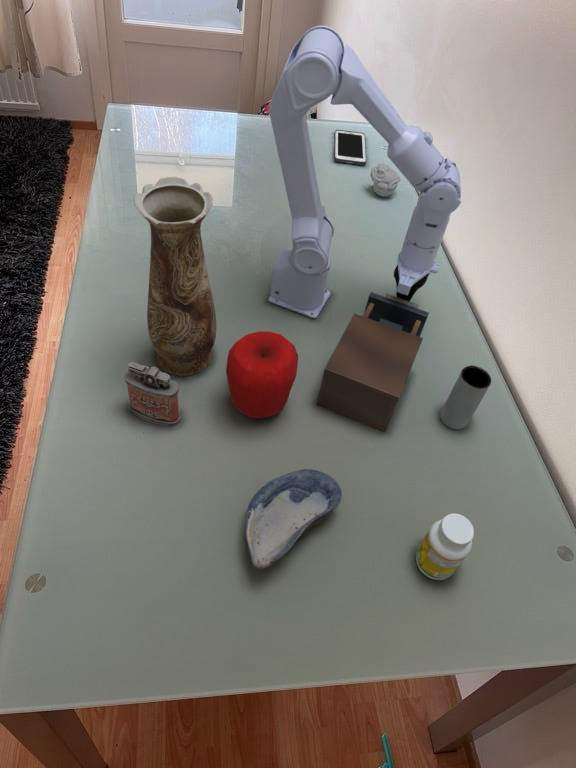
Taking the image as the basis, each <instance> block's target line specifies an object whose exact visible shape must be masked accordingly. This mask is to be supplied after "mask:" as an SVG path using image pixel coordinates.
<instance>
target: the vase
mask: <svg viewBox="0 0 576 768" xmlns="http://www.w3.org/2000/svg"><path fill="white" fill-rule="evenodd" d="M141 191H142V192H137V193H135V194H134V197H133V205H134V207H135V208H136V209H137V211H138V212H139V214H141V216H142V217H143V218H144V219H145V220H146V221H147V222H148V223H149V228H150V253H149V257H150V258H149V277H148V290H147V291H148V292H147V305H146V306H147V307H146V322H147V331H148V335H149V339H150V342H151V345H152V348H153V350H154V351H155V353H156V354H157V355H156V357H157V362H158V365H159V366H160V367H161V368H162V369H163V370H164V371H166V373H169V374H172V375H175V376H181V377H184V376H185V377H186V376H187V377H188V376H191V375H192V376H193V375H196V374H198V373H200V372H202V371H203V370H205V369H206V368H207V367H208V366H209V365H210V363H211V361H212V358H213V352H212V349H213V348H214V345H215V342H216V338H217V314H216V308H215V302H214V298H213V297H214V296H213V292H212V288H211V282H210V278H209V277H210V276H209V273H208V268H207V261H206V257H205V251H204V245H203V240H202V239H203V238H202V233H201V232H202V231H201V230H202V229H201V225H202V222H203V221H204V219H205V218H206V216H207V215H208V214H209V212H210V211H211V208H212V206H213V196H212V194H211V193H210V192H209V191H204V190H203V187H202V185H201V184H200V183H199V182H195V183H192V184H189V182H187V180H186V179H185V178H182V177H179V176H164V177H160V178H159V179H158V180H157V182H156V183H155V184H152V183H145V184H144V186H143V187H142V190H141Z"/></svg>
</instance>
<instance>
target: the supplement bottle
mask: <svg viewBox="0 0 576 768" xmlns="http://www.w3.org/2000/svg"><path fill="white" fill-rule="evenodd" d="M474 536H475V528H474V525H473V524H472V522H471V521H470V520H469V519H468V518H467V517H466V516H464V515H462V514H460V513H449V514H447V515H445V516H444V517H443V518H442V519H438V520H436V521H435V522H434V523H433V524H432V525H431V527H430V528H429V530H428V531H427V533H426V534H425V536H424V538H423V539H422V540H421V542H420V544H419V545H418V547H417V549H416V550H415V551H416V552H415V560H416V561H415V562H416V565H417V567H418V570H419V571H420V572H421V573H422V574H424V576H425V577H427V578H429V579H431V580H436V581H443V580H446V579H448V578H450V577H451V576H452V575H453V574H454V573H455V571H456V570H457V569H458V568H459V566H460V565H461V564H462V563H463V561H464V560H465V559H466V558H467V556H468V555H469V554H470V552H471V550H472V546H473V542H472V541H473V539H474Z"/></svg>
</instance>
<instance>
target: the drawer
mask: <svg viewBox="0 0 576 768" xmlns="http://www.w3.org/2000/svg"><path fill="white" fill-rule="evenodd" d="M429 314H430V312H429V311H426V310H423V309H420V308H419V304H417V303H415V302H413V301H411V300H410V301H407V300H404V299H401V298H398V297H396V295H392V294H390V293H386V294H385V295H381V294H379V293H375V292H372V291H370V293H369V295H368V298H367V301H366V305H365V308H364V312H363V315H362V316H364V317H366V318H369V319H372V320H375V321H377V322H379V321H380V319H381V318H382V319H384V320H387V321H390V322H393V323H395V324H398V325H401V326H403V328H402V331H405V332H407V333H410V334H413V335H415V336H418V337H421V336H422V332H423V331H424V327H425V326H426V323H427V320H428V317H429Z"/></svg>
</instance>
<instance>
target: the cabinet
mask: <svg viewBox="0 0 576 768" xmlns="http://www.w3.org/2000/svg"><path fill="white" fill-rule="evenodd" d="M422 343H423V337H421V336H420V337H418V336H415V335H413V334H410V333H407V332H405V331H402V330H399V329H396V328H394V327H391V326H388V325H385V324H383V323H380V322H377V321H375V320H372V319H369V318H366V317H364V316H363V315H361V314H358V313H356V312H355V313H353V315H352V317H351V319H350V321H349V323H348V324H347V326H346V328H345V330H344V331H343V333H342V336H341V337H340V339H339V341H338V343H337V345H336V347H335V348H334V350H333V352H332V354H331V355H330V358H329V359H328V362H327V363H326V365H325V367H324V368H323V369H324V370H323V374H322V379H321V383H320V387H319V390H318V396H317V399H316V400H317V401H316V405H318V406H320V407H323V408H325V409H327V410H330V411H331V412H334V413H337V414H340V415H342V416H344V417H347V418H350V419H352V420H355V421H357V422H360V423H362V424H365V425H367V426H370V427H372V428H374V429H377V430H380V431H382V432H384V433H386V432H387V429H388V428H389V425H390V422H391V419H392V417H393V415H394V412H395V411H396V410H395V409H396V407H397V406H398V402H399V400H400V398H401V395H402V392H403V389H404V387H405V385H406V382H407V380H408V377H409V375H410V372H411V369H412V367H413V364H414V363H415V359H416V357H417V354H418V352H419V350H420V347H421V345H422Z"/></svg>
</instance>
